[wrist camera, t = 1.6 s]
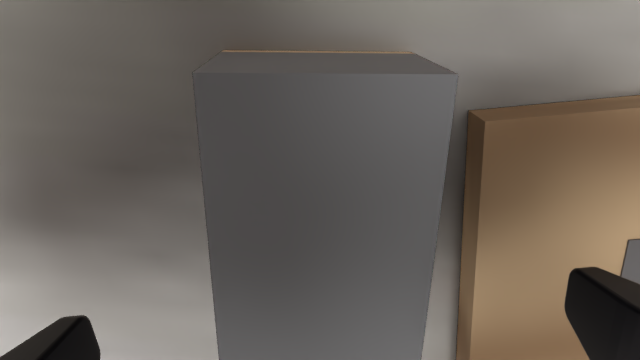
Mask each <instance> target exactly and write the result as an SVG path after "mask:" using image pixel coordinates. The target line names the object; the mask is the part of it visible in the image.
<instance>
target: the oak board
mask: <svg viewBox="0 0 640 360" xmlns="http://www.w3.org/2000/svg"><path fill="white" fill-rule="evenodd" d="M583 267H598V268H601V269H603V270H606V271H608V272H611V273H613V274H616V275H618V276H621V277H623V278H626V279H628V280H631V281H633V282H636V283H638V284H640V95H636V96H624V97H613V98H602V99H591V100H580V101H569V102H558V103H547V104H536V105H525V106H514V107H503V108H492V109H481V110H470V111H469V114H468V133H467V153H466V173H465V193H464V213H463V233H462V253H461V273H460V292H459V312H458V332H457V352H456V360H589V358H588V356H587V354H586V352H585V350H584V349H583V347H582V345H581V343H580V341H579V339H578V337H577V335H576V334H575V332H574V330H573V328H572V326H571V324H570V322H569V320H568V318H567V316H566V313H565V308H564V303H565V296H566V290H567V284H568V278H569V274H570V272H571V271H572V270H573V269H575V268H583Z"/></svg>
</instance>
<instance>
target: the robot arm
mask: <svg viewBox="0 0 640 360" xmlns="http://www.w3.org/2000/svg"><path fill="white" fill-rule="evenodd" d="M564 308H565V313H566V316H567V318H568V320H569V322H570V324H571V326H572V328H573V330H574V332H575V334H576V335H577V337H578V339H579V341H580V343H581V345H582V347H583V349H584V350H585V352H586V354H587V356H588V358H589V360H640V284H638V283H636V282H633V281H631V280H628V279H626V278H623V277H621V276H618V275H616V274H613V273H611V272H608V271H606V270H603V269H601V268H598V267H583V268H575V269H573V270H572V271H571V272H570V274H569V278H568V284H567V290H566V296H565V303H564ZM0 360H100V348H99V345H98V342H97V339H96V337H95V334H94V331H93V328H92V325H91V322H90V320H89V319H88V318H87V317H86V316H84V315H79V316H69V317H63V318H60V319H59V320H57V321H55V322H54V323H52V324H51V325H49V326H48V327H46V328H45V329H43V330H42V331H40V332H38V333H37V334H35V335H34V336H32V337H31V338H29V339H28V340H26V341H25V342H23V343H21V344H20V345H18V346H17V347H15V348H14V349H12V350H11V351H9V352H8V353H6V354H4V355H3V356H1V357H0Z"/></svg>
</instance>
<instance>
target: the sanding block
mask: <svg viewBox="0 0 640 360" xmlns="http://www.w3.org/2000/svg"><path fill="white" fill-rule="evenodd" d="M192 75H193V86H194V96H195V107H196V118H197V129H198V140H199V150H200V161H201V172H202V183H203V193H204V204H205V215H206V226H207V236H208V247H209V258H210V269H211V279H212V290H213V301H214V312H215V322H216V333H217V344H218V355H219V360H421V357H422V350H423V342H424V334H425V327H426V319H427V311H428V304H429V296H430V288H431V281H432V273H433V265H434V258H435V250H436V243H437V235H438V227H439V220H440V212H441V204H442V197H443V189H444V181H445V174H446V166H447V158H448V151H449V143H450V135H451V128H452V120H453V112H454V105H455V97H456V90H457V82H458V74H457V73H454V72H452V71H450V70H448V69H446V68H444V67H442V66H440V65H438V64H435V63H433V62H431V61H429V60H427V59H425V58H423V57H421V56H418V55H416V54H414V53H412V52H358V51H256V50H223V51H222V52H220V53H219V54H217V55H216V56H215V57H213V58H212V59H210V60H209V61H208V62H206V63H205V64H203V65H202V66H201V67H199V68H198V69H196V70H195V71H194V72H192Z"/></svg>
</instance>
